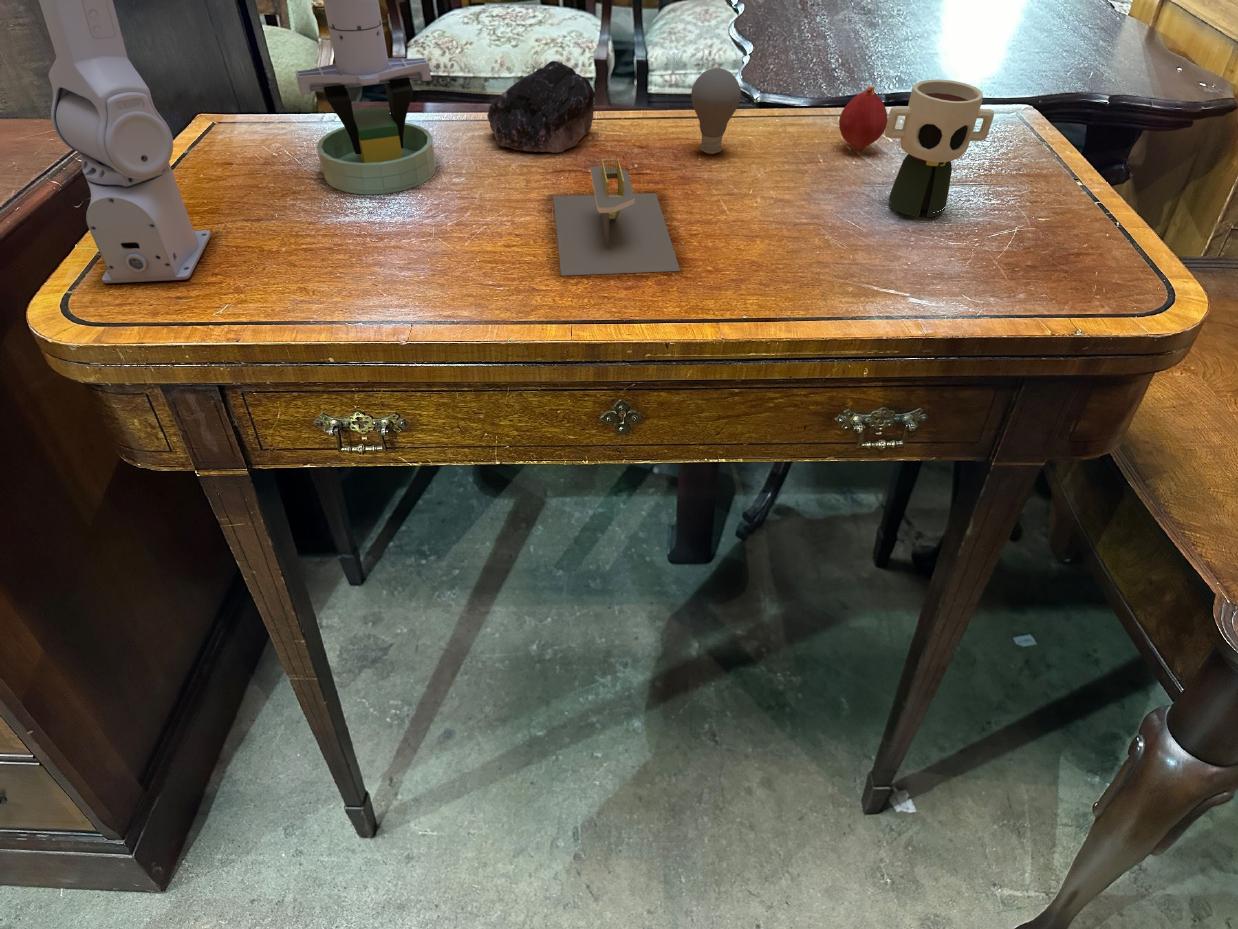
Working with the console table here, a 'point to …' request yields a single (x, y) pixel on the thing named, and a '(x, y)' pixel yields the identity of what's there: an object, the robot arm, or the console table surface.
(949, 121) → the character mug
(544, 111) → the dark rough boulder
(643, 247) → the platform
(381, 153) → the sponge
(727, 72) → the light bulb
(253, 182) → the console table surface
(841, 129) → the onion
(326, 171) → the bowl
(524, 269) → the console table surface
